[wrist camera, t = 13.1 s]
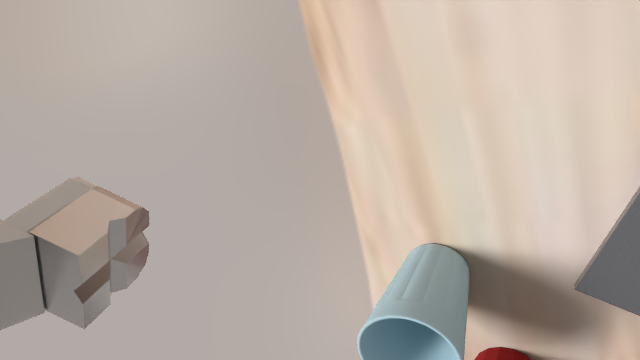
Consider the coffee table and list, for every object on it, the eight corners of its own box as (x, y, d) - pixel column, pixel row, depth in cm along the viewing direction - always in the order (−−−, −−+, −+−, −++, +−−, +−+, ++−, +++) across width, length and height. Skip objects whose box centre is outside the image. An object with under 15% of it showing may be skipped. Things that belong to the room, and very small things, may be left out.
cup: (498, 297, 46) (480, 394, 38) (417, 309, 50) (385, 399, 42) (462, 223, 44) (434, 309, 36) (380, 243, 48) (339, 324, 40)
